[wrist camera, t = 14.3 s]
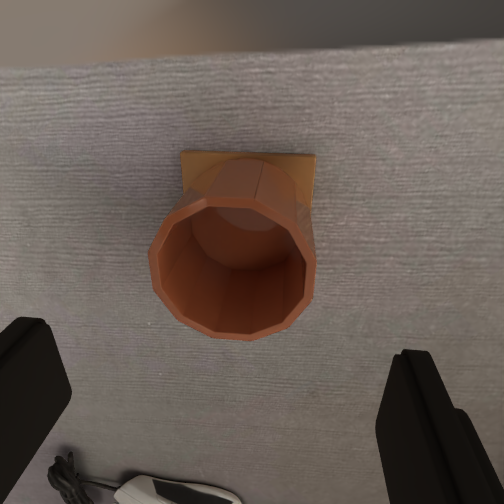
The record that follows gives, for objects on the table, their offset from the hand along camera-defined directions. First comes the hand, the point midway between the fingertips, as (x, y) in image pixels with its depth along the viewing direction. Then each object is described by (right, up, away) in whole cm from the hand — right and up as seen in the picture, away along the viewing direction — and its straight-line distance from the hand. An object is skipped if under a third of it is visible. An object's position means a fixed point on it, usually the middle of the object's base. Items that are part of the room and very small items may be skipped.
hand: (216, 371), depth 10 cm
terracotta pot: (+1, +5, +10) cm, 11 cm away
